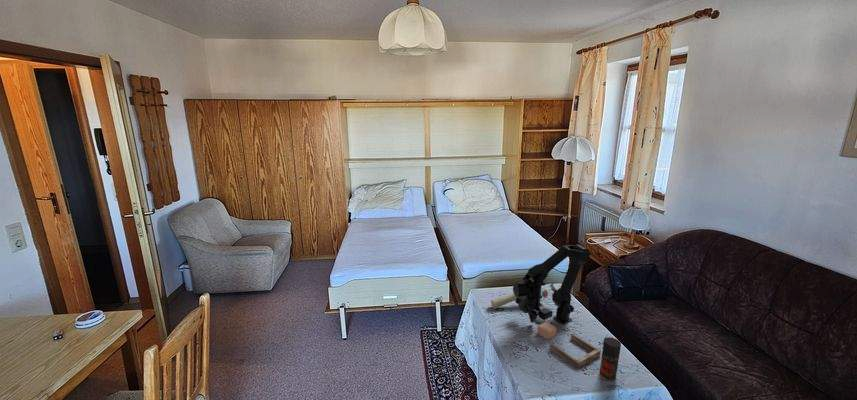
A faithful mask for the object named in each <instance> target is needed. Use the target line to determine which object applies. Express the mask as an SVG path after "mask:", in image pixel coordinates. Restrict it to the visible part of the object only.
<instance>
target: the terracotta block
mask: <svg viewBox="0 0 857 400" xmlns="http://www.w3.org/2000/svg"><path fill="white" fill-rule="evenodd" d="M536 330H537V331H536V332H537V334H538V335H540V336H542V337H543V338H545V339H546V340H550V339H551V338H553V337H555V336H557V327H556V326H555V325H552V324H551V323H549V322H547V321H546V322H544V323H542V324H537V329H536Z"/></svg>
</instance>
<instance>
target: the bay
mask: <svg viewBox="0 0 857 400" xmlns="http://www.w3.org/2000/svg"><path fill="white" fill-rule="evenodd" d="M570 340H571V341H573V342H575V343H577V344H578V345H580V346H582V347H583V348H584V349H586V350H588V351H589V353H587V354H585V355H584V356H581V357H579V358H578V359H576V358H574V357H573V356H571V355H570V354H568V353H567V352H566V351H564V350H563V349H561V347H558V346H556V345H555V344H553V343H551V344H550V351H552V352H553V353H555V354H556V355H558V356H560V358H562V359H564V360H565V361H567V362H568V363H570V364H571V365H573V366H574V367H575V368H576V369H579V368H581V367H583V366H584V365H586V364H588V363H590V362H591V361H593V360H595V359H597V358H598V357H600V356H601V354H602V350H601V349H599V348H598V347H596V346H594V345H592V344H591V343H590V342H588V341H586V340H584V338H583V339H582V338H581V337H580V336H578V335H576V334H574V333H571V334H570Z"/></svg>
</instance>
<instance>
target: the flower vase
mask: <svg viewBox="0 0 857 400" xmlns="http://www.w3.org/2000/svg"><path fill="white" fill-rule="evenodd" d="M549 288H550V289H549V290H547V289H544V290H541V296H542V298H543V299H546V298H548V296H552V295H553V293H554V290H555V289H556V287H555V286H554V283H553V282H552V283H551V282H549ZM550 291H551V292H553V293H551V294H550V293H549V292H550ZM516 298H517V297H516V296H515V295H514V293H512V294H509V295H506V296H505V295H504V296H502V297H498V298H495V299H490V304H491V306H492V308H493V309H494V310H495V309H498V308H500V307H502V306H504V305H507V304H509V303H512V302H514V301H515V302H516Z"/></svg>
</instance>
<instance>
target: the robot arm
mask: <svg viewBox="0 0 857 400" xmlns="http://www.w3.org/2000/svg"><path fill="white" fill-rule="evenodd" d="M568 257H569V258H570V263H569V266H568V268H567V271H566V273H565V275H564V277H563V281H562V283H561V285H560V287H559V288H557V289H556V288H555V290H554V291H553V295H552V294H551V300H552V302H553V303H554V305H555V306H557V308H556V312H555V313H556V314H555V315H554V313H553V311H552V310H551V309H549V308H547V307H542V303H541V299H543V295H542V294H541V292H542V286H546V285H547V284H546V283H545V282H544V281H545V280H546V279H547V277H548V275H549V273H550V272H551V270H553V269H554V268H556V267H557V266H558V265H559V264H560V263H562V262H563V261H565V260H566V259H567V258H568ZM590 257H591V250H589V249H588V248H586V247H584V246H583V245H581V244H575V245H571V244H569V245H562V246H560V247H559V249H557V250H556V252H554V253H553V254H552V255H550V256H549V257H548V258H547V259H545V260H544V261H543V262H541V263H539V264H535V265H533V266H532V267H530V268H529V269H528V270H527V273H525V275H524V277H523V278H522V281H516V282H515V284H513V287H512V292H513V293H512V294H514V295H515V296H516V297H517V298H516V300H515V303H516V304H517V305H518V308H519V311H521V312H523V313H524V314H528V316H529V317H528V318H529V320H530V323H532V324H533V323H535V322H534V321H535V319H536V318H537V317H540V318H541V319H543V320H548V319H550V318H553V320H557V321H558V322H560V323H561V324H567V323H569V322H572V320H573V319H572V318H570V315H571V313H573V312H574V310H575V307H574V306H573V305H572V304H571V301H572V293H571V292H572V290H573V287H574V284H575V282H576V280H577V277H578V275H579V273H580V270H581V268H582V266H583V265H585V264H586V263H587V262H588V260H589V258H590ZM541 295H542V296H541ZM553 315H554V316H553Z"/></svg>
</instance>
